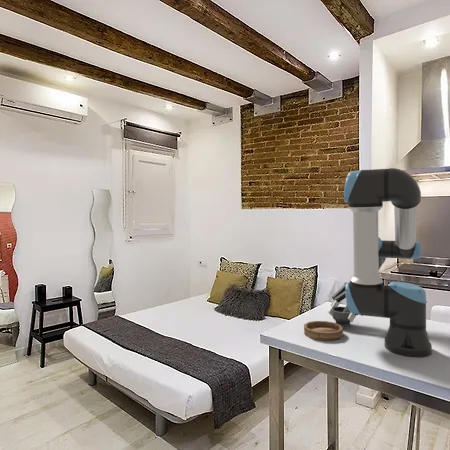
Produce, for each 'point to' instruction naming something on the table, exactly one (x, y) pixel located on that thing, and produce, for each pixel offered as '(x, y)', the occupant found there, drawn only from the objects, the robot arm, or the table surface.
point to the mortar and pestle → (341, 316)
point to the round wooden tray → (323, 330)
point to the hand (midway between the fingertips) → (339, 316)
